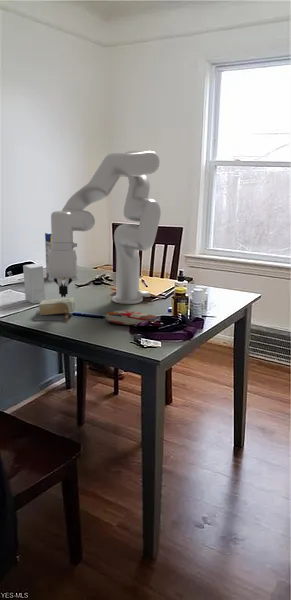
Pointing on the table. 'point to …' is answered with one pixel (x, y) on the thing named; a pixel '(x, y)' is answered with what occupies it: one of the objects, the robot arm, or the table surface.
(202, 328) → the table surface
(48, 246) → the beverage box
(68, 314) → the stop strip
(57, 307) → the skincare box
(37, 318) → the mat
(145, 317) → the pencil case
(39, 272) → the skincare box
